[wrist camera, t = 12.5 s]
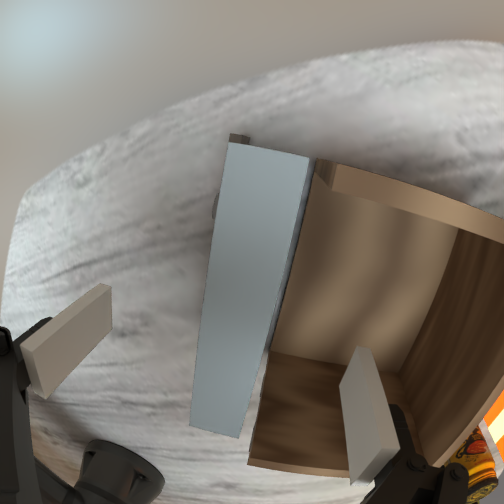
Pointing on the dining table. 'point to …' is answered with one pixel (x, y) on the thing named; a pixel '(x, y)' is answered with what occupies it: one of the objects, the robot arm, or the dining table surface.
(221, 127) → the dining table surface
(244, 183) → the door
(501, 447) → the orange juice
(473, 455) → the condiment
